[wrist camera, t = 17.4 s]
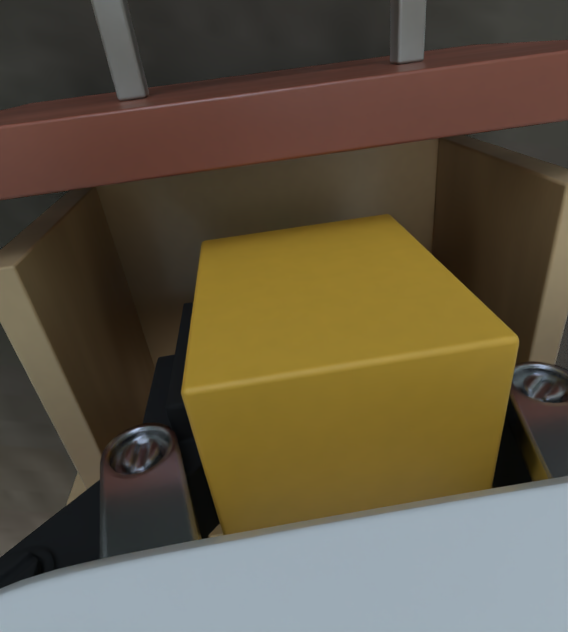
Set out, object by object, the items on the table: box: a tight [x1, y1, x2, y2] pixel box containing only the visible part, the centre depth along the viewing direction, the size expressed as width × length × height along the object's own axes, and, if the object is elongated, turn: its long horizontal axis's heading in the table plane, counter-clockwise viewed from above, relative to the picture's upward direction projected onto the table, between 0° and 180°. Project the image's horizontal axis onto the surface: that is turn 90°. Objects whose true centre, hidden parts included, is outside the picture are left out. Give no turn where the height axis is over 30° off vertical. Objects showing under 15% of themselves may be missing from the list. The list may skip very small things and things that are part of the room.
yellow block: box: [181, 214, 519, 535], centre depth 10 cm, size 6×4×6 cm
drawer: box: [0, 0, 568, 489], centre depth 13 cm, size 19×14×8 cm
